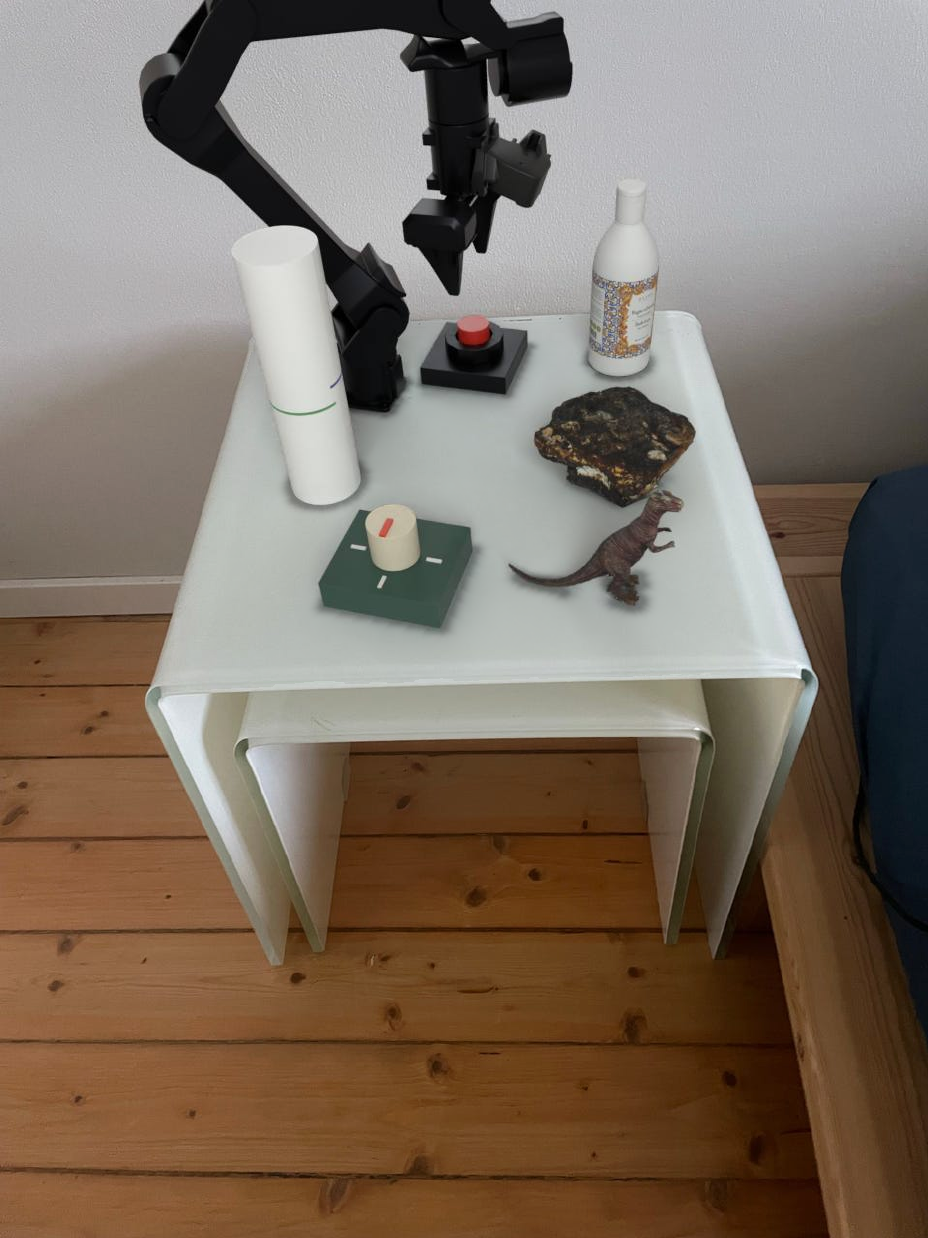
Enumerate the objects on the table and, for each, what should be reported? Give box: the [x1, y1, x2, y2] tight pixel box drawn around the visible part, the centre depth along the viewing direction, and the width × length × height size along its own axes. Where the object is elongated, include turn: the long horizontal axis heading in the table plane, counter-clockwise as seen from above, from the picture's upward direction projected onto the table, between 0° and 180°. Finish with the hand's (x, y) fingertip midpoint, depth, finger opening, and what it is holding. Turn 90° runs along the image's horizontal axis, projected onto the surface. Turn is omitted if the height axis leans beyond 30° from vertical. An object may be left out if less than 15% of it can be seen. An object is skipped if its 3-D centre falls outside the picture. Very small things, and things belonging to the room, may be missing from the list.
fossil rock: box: [533, 386, 697, 509], centre depth 90 cm, size 14×14×6 cm
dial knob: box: [365, 503, 420, 571], centre depth 80 cm, size 4×4×4 cm
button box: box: [419, 320, 529, 395], centre depth 105 cm, size 10×10×4 cm
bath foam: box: [588, 178, 660, 377], centre depth 98 cm, size 7×7×20 cm
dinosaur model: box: [507, 489, 685, 606], centre depth 77 cm, size 4×12×15 cm
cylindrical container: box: [230, 226, 362, 506], centre depth 84 cm, size 7×7×25 cm
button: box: [456, 314, 490, 345], centre depth 103 cm, size 4×4×2 cm
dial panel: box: [317, 509, 473, 629], centre depth 82 cm, size 11×10×3 cm
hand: (468, 273), depth 96 cm, fingers open, 9 cm apart
